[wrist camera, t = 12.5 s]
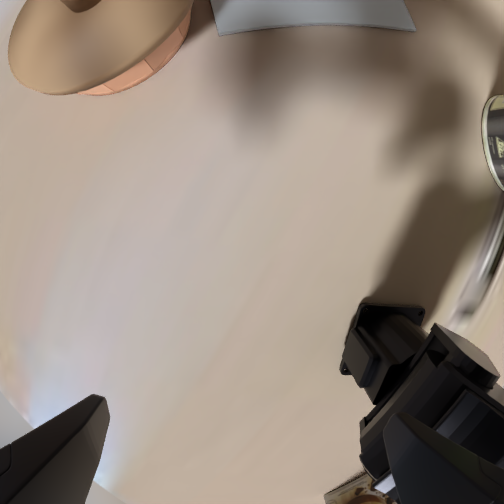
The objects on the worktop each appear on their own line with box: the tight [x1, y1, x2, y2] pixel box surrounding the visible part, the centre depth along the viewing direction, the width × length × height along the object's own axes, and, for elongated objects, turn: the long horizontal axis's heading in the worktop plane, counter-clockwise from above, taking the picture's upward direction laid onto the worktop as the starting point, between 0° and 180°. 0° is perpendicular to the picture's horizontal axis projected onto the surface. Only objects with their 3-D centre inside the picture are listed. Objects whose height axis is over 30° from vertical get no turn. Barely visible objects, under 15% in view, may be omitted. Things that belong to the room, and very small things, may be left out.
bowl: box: [77, 6, 192, 96], centre depth 13 cm, size 11×11×4 cm
